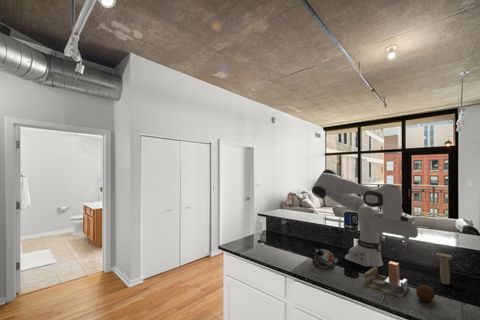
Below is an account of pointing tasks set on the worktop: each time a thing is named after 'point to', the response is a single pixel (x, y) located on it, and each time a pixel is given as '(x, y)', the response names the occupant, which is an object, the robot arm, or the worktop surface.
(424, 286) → the potato
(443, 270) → the handle
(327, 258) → the lucky cat figurine
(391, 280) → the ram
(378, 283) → the frame
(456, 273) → the worktop surface
